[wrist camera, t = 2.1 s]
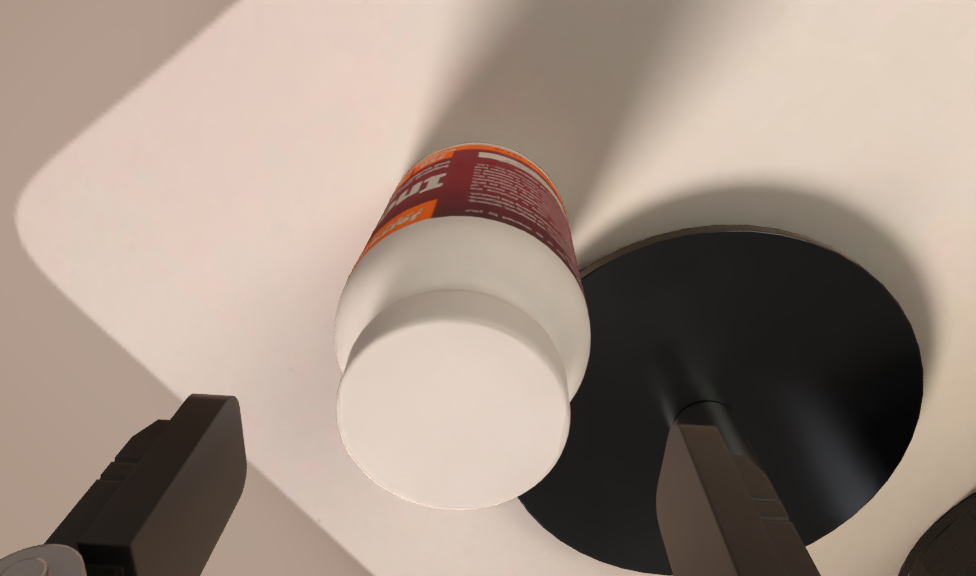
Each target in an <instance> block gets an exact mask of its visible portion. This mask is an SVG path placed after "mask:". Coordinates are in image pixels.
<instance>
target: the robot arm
mask: <svg viewBox="0 0 976 576" xmlns="http://www.w3.org/2000/svg"><path fill="white" fill-rule="evenodd" d="M246 469H247V463H246V454H245V446H244V438H243V430H242V422H241V414H240V407H239V402H238V400H237V398H236V397H235V396H225V395H208V394H191V395H190V396H189V397H188V398H187V399H186V400H185V401H184V403H183V404H182V405H181V407H180V408H179V409H178V411H177V412H176V413H175V415H174V416H173V417H172V418H171V420H157V421H156V422H154V423H153V424H151V425H149V426H148V427H146V428H145V429H143V430H142V431H140V432H139V433H137V434H136V435H134V436H133V437H132V438H131V439H130V440H129V441H128V443H127V444H126V445H125V446H124V447H123V449H122V450H121V451H120V452H119V454H118V455H117V456H116V457H115V461H114V462H111V463H110V464H109V466H108V467H107V468H106V469H105V471H104V472H103V473H102V474H101V478H100V480H96V481H95V483H94V484H93V485H92V486H91V487H90V489H89V490H88V491H87V492H86V493H85V495H84V496H83V497H82V498H81V500H80V501H79V502H78V503H77V504H76V506H75V507H74V508H73V509H72V511H71V512H70V513H69V514H68V515H67V517H66V518H65V519H64V520H63V521H62V523H61V524H60V525H59V526H58V528H57V529H56V530H55V531H54V532H53V534H52V535H51V536H50V537H49V538H48V540H47V541H46V542H45V543H44V544H43V545H38V546H33V547H29V548H26V549H22V550H20V551H17V552H15V553H12V554H10V555H8V556H6V557H4V558H2V559H0V576H200V575H201V572H202V571H203V569H204V567H205V565H206V563H207V561H208V559H209V557H210V555H211V553H212V551H213V549H214V547H215V545H216V543H217V541H218V540H219V538H220V536H221V534H222V532H223V530H224V528H225V526H226V524H227V522H228V520H229V518H230V516H231V514H232V512H233V510H234V509H235V506H236V505H237V503H238V501H239V499H240V496H241V494H242V492H243V488H244V484H245V479H246ZM656 510H657V519H658V523H659V527H660V531H661V534H662V538H663V541H664V545H665V548H666V552H667V555H668V558H669V562H670V565H671V569H672V572H673V576H821V575H820V573H819V572H818V570H817V568H816V566H815V564H814V562H813V560H812V559H811V557H810V555H809V553H808V551H807V549H806V547H805V545H804V544H803V542H802V540H801V538H800V536H799V534H798V532H797V531H796V529H795V527H794V525H793V523H792V522H790V521H789V516H788V514H787V512H786V510H785V508H784V506H783V504H782V503H779V497H778V495H777V493H776V491H775V490H774V488H773V486H772V484H771V482H770V480H769V478H768V477H767V475H766V474H765V473H764V472H763V471H761V470H760V469H759V468H758V467H757V466H756V465H755V464H754V463H753V462H752V461H751V460H749V459H748V458H747V457H746V456H745V455H731V454H730V452H729V450H728V448H727V446H726V444H725V442H724V440H723V438H722V436H721V434H720V432H719V430H718V428H717V427H716V426H711V425H694V424H677V423H674V424H673V425H672V426H671V428H670V431H669V434H668V439H667V444H666V448H665V453H664V458H663V463H662V467H661V472H660V477H659V481H658V486H657V494H656Z"/></svg>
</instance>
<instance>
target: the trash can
mask: <svg viewBox="0 0 976 576" xmlns="http://www.w3.org/2000/svg"><path fill="white" fill-rule="evenodd" d="M899 576H976V493H975V494H974V495H972V496H970V497H969V498H968V499H966V500H965V501H963V502H962V503H960V504H959V505H958V506H956V507H955V508H953V509H952V510H951V511H949V512H948V513H947V514H946V515H945V516H944V517H942V518H941V519H940V520H939V521H938V522H937V523H935V524H934V525H933V526H932V528H931V529H930V530H929V531H928V532H927V533H926V534H925V535H924V536H923V537H922V538H921V539H920V541H919V542H918V543H917V545H916V546H915V547H914V549H913V550H912V551H911V553H910V554H909V556H908V557H907V559H906V561H905V563H904V565H903V567H902V568H901V570H900V573H899Z"/></svg>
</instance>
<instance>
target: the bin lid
mask: <svg viewBox="0 0 976 576" xmlns="http://www.w3.org/2000/svg"><path fill="white" fill-rule="evenodd" d="M580 279H581V283H582V286H583V292H584V296H585V300H586V304H587V308H588V316H589V320H590V333H591V341H590V354H589V359H588V363H587V367H586V371H585V374H584V377H583V379H582V382H581V384H580V386H579V388H578V390H577V392H576V394H575V395H574V397H573V398H572V400H571V402H570V413H571V415H570V427H569V434H568V437H567V441H566V444H565V447H564V449H563V451H562V454H561V455H560V457H559V459H558V461H557V463H556V464H555V465H554V467H553V468H552V469H551V471H550V472H549V473H548V474H547V475H546V476H545V477H544V478H543V479H542V480H541V481H540V482H539V483H538V484H536V485H535V486H534V487H532V488H531V489H529V490H528V491H526V492H525V493H523V494H521V495H520V496H517V497H518V499H519V500H520V501H521V503H522V504H523V506H524V507H525V508H526V510H527V511H528V512H529V513H530V514H531V515H532V516H533V517H534V519H535V520H536V521H537V522H538V523H539V524H540V525H541V526H542V527H543V528H545V529H546V530H547V531H548V532H550V533H551V534H552V535H554V536H555V537H556V538H557V539H559V540H560V541H562V542H563V543H565V544H567V545H568V546H570V547H572V548H573V549H575V550H577V551H578V552H580V553H583V554H585V555H587V556H589V557H592V558H594V559H596V560H598V561H601V562H604V563H607V564H610V565H613V566H617V567H620V568H623V569H628V570H633V571H638V572H643V573H650V574H660V575H673V572H672V569H671V565H670V562H669V558H668V555H667V552H666V548H665V545H664V541H663V538H662V534H661V531H660V527H659V523H658V519H657V510H656V494H657V486H658V481H659V477H660V472H661V467H662V463H663V458H664V453H665V448H666V444H667V439H668V434H669V431H670V428H671V426H672V425H673V424H674V423H677V424H694V425H711V426H716V427H717V428H718V430H719V432H720V434H721V436H722V438H723V440H724V442H725V444H726V446H727V448H728V450H729V452H730V454H731V455H745V456H746V457H747V458H748V459H749V460H751V461H752V462H753V463H754V464H755V465H756V466H757V467H758V468H759V469H760V470H761V471H763V472H764V473H765V474H766V475H767V477H768V478H769V480H770V482H771V484H772V486H773V488H774V490H775V491H776V493H777V495H778V497H779V503H782V504H783V506H784V508H785V510H786V512H787V514H788V516H789V521H790V522H792V523H793V525H794V527H795V529H796V531H797V532H798V534H799V536H800V538H801V540H802V542H803V544H804V545H805V547H806V546H808V545H810V544H812V543H813V542H815V541H817V540H818V539H820V538H822V537H823V536H825V535H827V534H828V533H830V532H832V531H833V530H835V529H836V528H837V527H839V526H840V525H842V524H843V523H844V522H846V521H847V520H848V519H850V518H851V517H852V516H854V515H855V514H856V513H857V512H858V511H859V510H860V509H861V508H862V507H863V506H864V505H866V504H867V503H868V502H869V501H870V500H871V499H872V498H873V497H874V496H875V494H876V493H877V492H878V491H879V490H880V489H881V487H882V486H883V485H884V484H885V483H886V482H887V481H888V479H889V478H890V476H891V475H892V473H893V472H894V470H895V469H896V467H897V466H898V464H899V463H900V461H901V460H902V458H903V456H904V454H905V452H906V450H907V448H908V446H909V444H910V442H911V440H912V437H913V434H914V431H915V428H916V425H917V422H918V419H919V415H920V409H921V403H922V397H923V367H922V361H921V355H920V350H919V345H918V343H917V340H916V337H915V334H914V332H913V329H912V326H911V324H910V322H909V320H908V319H907V317H906V315H905V313H904V312H903V310H902V308H901V307H900V305H899V303H898V302H897V301H896V300H895V298H894V297H893V296H892V295H891V294H890V293H889V291H888V290H887V289H886V288H885V287H884V285H883V284H882V283H880V282H879V281H878V280H877V279H876V278H875V277H873V276H872V275H871V274H870V273H869V272H867V271H866V270H865V269H864V268H863V267H862V266H860V265H859V264H858V263H857V262H855V261H854V260H852V259H850V258H849V257H847V256H845V255H844V254H842V253H841V252H839V251H837V250H836V249H834V248H832V247H830V246H828V245H825V244H823V243H820V242H818V241H816V240H813V239H811V238H808V237H806V236H803V235H799V234H795V233H791V232H787V231H784V230H780V229H775V228H767V227H759V226H751V225H711V226H703V227H695V228H687V229H681V230H677V231H673V232H669V233H665V234H661V235H657V236H653V237H650V238H647V239H645V240H642V241H639V242H637V243H634V244H631V245H628V246H626V247H623V248H621V249H619V250H617V251H615V252H614V253H612V254H610V255H608V256H606V257H604V258H602V259H600V260H598V261H596V262H595V263H593V264H592V265H590V266H589V267H587V268H586V269H584V270H583V271H581V272H580Z"/></svg>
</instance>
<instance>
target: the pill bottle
mask: <svg viewBox="0 0 976 576" xmlns="http://www.w3.org/2000/svg"><path fill="white" fill-rule="evenodd" d="M590 341H591V333H590V320H589V316H588V308H587V304H586V300H585V296H584V292H583V286H582V283H581V279H580V273H579V269H578V266H577V261H576V256H575V252H574V247H573V243H572V239H571V233H570V229H569V224H568V219H567V215H566V211H565V208H564V205H563V203H562V200H561V198H560V195H559V193H558V191H557V190H556V188H555V186H554V185H553V183H552V181H551V180H550V179H549V177H548V176H547V175H546V174H545V173H544V171H542V170H541V169H540V168H539V167H538V166H537V165H536V164H535V163H533V162H532V161H531V160H529V159H528V158H527V157H525V156H523V155H522V154H520V153H518V152H516V151H514V150H511V149H509V148H506V147H503V146H499V145H495V144H489V143H462V144H457V145H452V146H449V147H446V148H443V149H440V150H438V151H436V152H434V153H432V154H430V155H428V156H426V157H425V158H424V159H422V160H421V161H419V162H418V163H417V164H416V165H415V166H414V167H413V168H412V169H411V170H410V171H409V172H408V173H407V174H406V175H405V177H404V178H403V179H402V181H401V182H400V183H399V185H398V186H397V188H396V190H395V192H394V193H393V195H392V197H391V199H390V201H389V203H388V205H387V207H386V209H385V211H384V213H383V215H382V217H381V219H380V220H379V222H378V224H377V226H376V228H375V230H374V231H373V233H372V235H371V237H370V239H369V241H368V243H367V244H366V246H365V248H364V250H363V252H362V254H361V256H360V257H359V259H358V261H357V262H356V264H355V265H354V268H353V270H352V272H351V274H350V275H349V277H348V279H347V282H346V285H345V287H344V289H343V292H342V294H341V297H340V300H339V303H338V308H337V312H336V319H335V348H336V354H337V358H338V363H339V366H340V369H341V372H342V378H341V381H340V385H339V388H338V392H337V401H336V418H337V425H338V429H339V432H340V435H341V439H342V441H343V443H344V446H345V448H346V450H347V451H348V453H349V455H350V456H351V458H352V459H353V461H354V462H355V463H356V464H357V466H358V467H359V468H360V469H361V470H362V471H363V472H364V473H365V474H366V475H367V476H368V477H369V478H370V479H371V480H372V481H374V482H375V483H376V484H378V485H379V486H381V487H382V488H383V489H385V490H387V491H388V492H390V493H392V494H394V495H396V496H398V497H400V498H402V499H405V500H407V501H410V502H413V503H415V504H419V505H423V506H427V507H432V508H437V509H449V510H472V509H480V508H485V507H489V506H494V505H497V504H500V503H503V502H506V501H509V500H511V499H513V498H515V497H517V496H520V495H521V494H523V493H525V492H526V491H528V490H529V489H531V488H532V487H534V486H535V485H536V484H538V483H539V482H540V481H541V480H542V479H543V478H544V477H545V476H546V475H547V474H548V473H549V472H550V471H551V469H552V468H553V467H554V465H555V464H556V463H557V461H558V459H559V457H560V455H561V454H562V451H563V449H564V447H565V444H566V441H567V437H568V434H569V427H570V415H571V413H570V402H571V400H572V398H573V397H574V395H575V394H576V392H577V390H578V388H579V386H580V384H581V382H582V379H583V377H584V374H585V371H586V367H587V363H588V359H589V354H590Z"/></svg>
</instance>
